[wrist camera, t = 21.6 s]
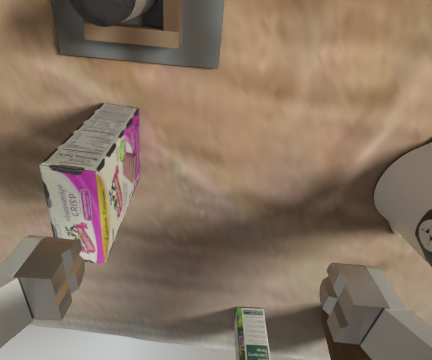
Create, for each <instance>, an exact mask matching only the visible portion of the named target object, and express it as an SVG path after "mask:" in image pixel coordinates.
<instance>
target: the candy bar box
mask: <svg viewBox="0 0 432 360" xmlns="http://www.w3.org/2000/svg"><path fill="white" fill-rule="evenodd" d="M39 167H40V172H41V177H42V181H43V186H44V191H45V196H46V201H47V207H48V211H49V216H50V221H51V226H52V231H53V236H54V237H55V238H64V239H72V240H78V241H80V242H81V246H82V250H81V252H80V254H79V255H80V256H81V257H82V258H83V259H84V261H85V262H87V261H90V262H92V263H106V261H107V258H108V255H109V253H110V250H111V248H112V245H113V243H114V240H115V238H116V235H117V233H118V231H119V228H120V225H121V223H122V220H123V218H124V215H125V212H126V210H127V208H128V205H129V203H130V200H131V198H132V195H133V193H134V190H135V188H136V186H137V183H138V181H139V108H134V107H125V106H119V105H113V104H106V103H103V104H102V105H101V106H100V107H99V108H98V109H97V110H96V111H95V112H94V113H93V114H92V115H91V116H90V117H89V118H88V119H87V120H86V121H84V122H83V123H82V124H81V125H80V126H79V127H78V128H77V129H76V130H75V131H74V132H73V133H72V134H71V135H70V136H69V137H68V138H67V139H66V140H65V141H64V142H63V143H62V144H61V145H60V146H59V147H58V148H56V149H55V150H54V152H52V153H51V154H50V155H49V156H48V157H47V158H46V159H45V160H44V161H43V162H42V163H41V164H40V165H39Z"/></svg>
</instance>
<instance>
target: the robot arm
mask: <svg viewBox="0 0 432 360" xmlns="http://www.w3.org/2000/svg"><path fill="white" fill-rule="evenodd" d="M374 203H375V207H376V209H377V211H378V212H379V213H380V214H381V215H382V216H383V217H384V218H385V219H386V220H388V221H389V224H390V227H391V230H392V231H393V233H394V234H395V235H396V236H398V237H403V238H404V239H405V240H406V241H407V242H408V243H409V244H410V245H411V246H412V247H413V249H414V250H415V251H416V252H417V253H418V254H419V255H420V256H421V257H422V258H423V259H424V260H425V261H427V262H428V263H429V264H430V265H431V267H432V142H430V143H429V144H426V145H424V146H422V147H419V148H417V149H414V150H412V151H410V152H408V153H407V154H405V155H403V156H402V157H400V158H399V159H398V160H396V161H395V162H394V163H393V164H392V165H391V166H390V167H389V168H388V169H387V170H386V171H385V172H384V173H383V175H382V176H381V178H380V179H379V181H378V183H377V186H376V188H375V192H374ZM81 250H82V246H81V242H80V241H78V240H72V239H64V238H55V237H43V236H35V235H29V236H27V237H25V238H24V239H23V240H22V242H21V243H20V244H19V245H18V246H17V248H16V249H15V250H14V251H13V252H12V254H11V255H10V256H9V257H8V258H7V259H6V261H5V262H4V263H3V264H2V265H1V267H0V348H1V347H2V346H3V345H4V344H5V343H7V342H8V341H9V340H10V339H11V338H13V337H14V336H15V335H16V334H18V333H19V332H20V331H21V330H22V329H24V328H25V327H26V326H27V325H29V324H30V323H31V322H32V321H33V319H39V320H59V321H62V320H63V318H64V316H65V314H66V312H67V310H68V308H69V306H70V304H71V302H72V298H71V293H73V292H74V291H76V290H77V289H78V288H79V286H80V284H81V282H82V279H83V275H84V272H85V263H84V259H83V258H82V257H81V256H80V255H79V254H80V252H81ZM327 273H328V275H329V276H328V277H326V278H325V279H323V280H322V283H321V286H320V302H321V305H322V308H323V310H324V311H325V312H326V313H327V314H328V315H329V318H328V320H327V323H328V326H329V329H330V332H331V335H332V338H333V341H334V342H341V343H350V344H359V345H361V347H362V349H363V350H364V351H365V352H366V353H367V354H368V356H369V357H370V358H371V359H372V360H432V326H431V325H429V324H428V323H427V322H425V321H424V320H423V319H421V318H420V317H419V316H418V315H416V314H415V313H414V312H412V311H409V310H406V308H405V307H404V305H403V303H402V302H401V300H400V299H399V297H398V295H397V294H396V292H395V290H394V289H393V287H392V285H391V284H390V282H389V281H388V279H387V277H386V276H385V274H384V272H383V271H382V269H381V268H379V267H378V266H367V265H354V264H342V263H331V264H330V265H329V267H328V269H327Z"/></svg>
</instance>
